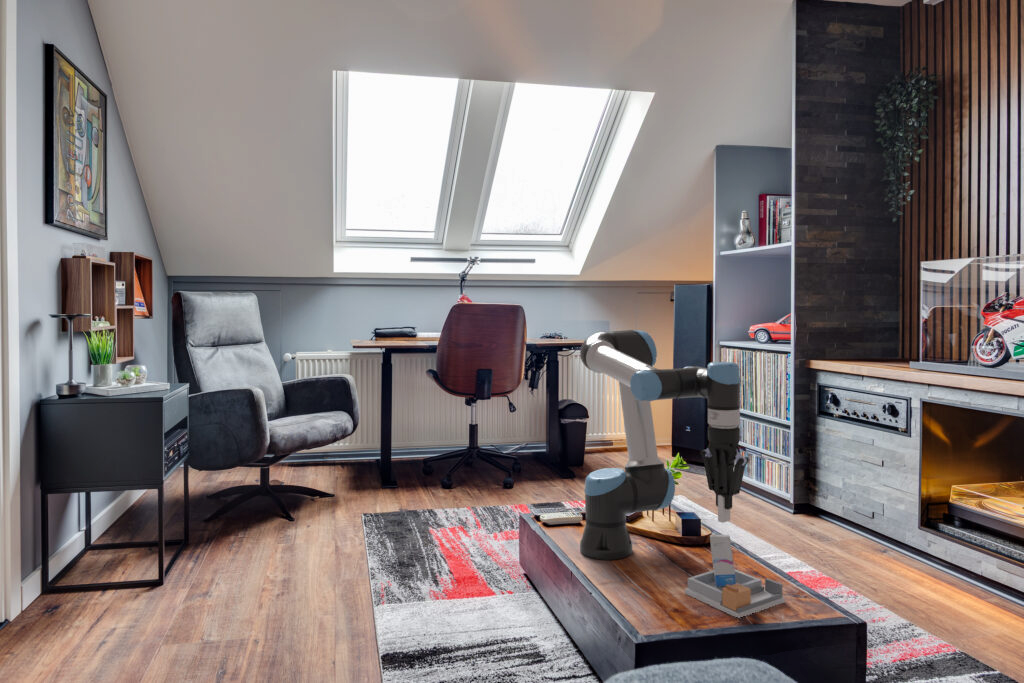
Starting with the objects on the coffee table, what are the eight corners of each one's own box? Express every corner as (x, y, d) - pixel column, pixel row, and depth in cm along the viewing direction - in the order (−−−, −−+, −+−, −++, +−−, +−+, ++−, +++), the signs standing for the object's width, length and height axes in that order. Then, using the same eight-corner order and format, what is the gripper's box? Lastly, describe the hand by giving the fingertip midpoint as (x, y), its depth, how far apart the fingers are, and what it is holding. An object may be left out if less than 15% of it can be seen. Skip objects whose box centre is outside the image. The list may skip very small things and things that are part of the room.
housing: (684, 593, 178) (684, 577, 178) (729, 579, 187) (729, 563, 187) (739, 618, 164) (739, 600, 164) (784, 602, 172) (784, 584, 172)
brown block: (722, 604, 168) (722, 584, 168) (737, 599, 171) (737, 580, 170) (735, 611, 165) (735, 590, 164) (750, 605, 167) (750, 585, 167)
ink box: (737, 586, 173) (730, 535, 175) (716, 587, 174) (709, 536, 176) (735, 581, 181) (728, 533, 183) (715, 582, 182) (708, 534, 185)
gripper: (692, 424, 178) (693, 517, 180) (735, 431, 167) (736, 530, 169) (712, 420, 182) (712, 511, 184) (756, 427, 172) (756, 524, 173)
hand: (724, 520), depth 176 cm, fingers closed
